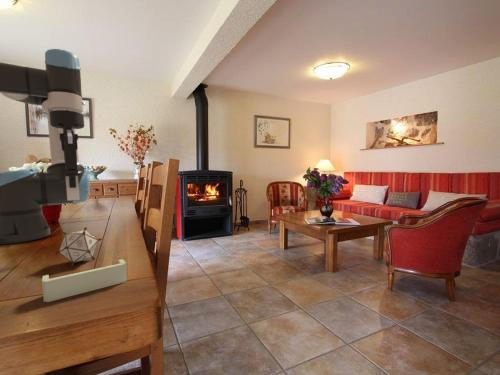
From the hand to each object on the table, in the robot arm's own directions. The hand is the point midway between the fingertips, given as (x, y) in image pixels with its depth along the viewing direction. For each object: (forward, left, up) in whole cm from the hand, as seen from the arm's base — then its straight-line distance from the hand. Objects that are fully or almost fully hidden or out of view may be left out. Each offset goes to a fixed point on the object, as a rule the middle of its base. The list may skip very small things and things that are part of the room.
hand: (73, 199), depth 71 cm
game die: (+6, +10, -14) cm, 18 cm away
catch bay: (+15, +26, -14) cm, 33 cm away
